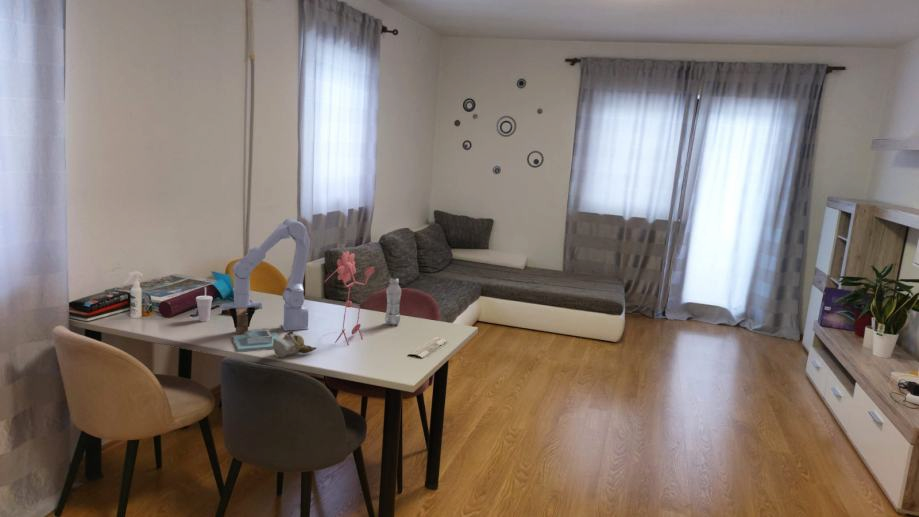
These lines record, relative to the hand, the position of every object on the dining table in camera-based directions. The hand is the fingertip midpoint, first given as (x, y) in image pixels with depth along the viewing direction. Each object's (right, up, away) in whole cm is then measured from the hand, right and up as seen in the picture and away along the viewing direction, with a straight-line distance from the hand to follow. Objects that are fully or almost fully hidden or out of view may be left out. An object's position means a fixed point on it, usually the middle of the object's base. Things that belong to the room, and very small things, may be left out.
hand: (241, 326), depth 244 cm
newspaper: (+73, -9, -3) cm, 73 cm away
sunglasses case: (-10, +3, +30) cm, 32 cm away
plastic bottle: (+56, -2, +25) cm, 61 cm away
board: (+10, -5, -10) cm, 15 cm away
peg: (0, -2, 0) cm, 2 cm away
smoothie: (-20, +1, +13) cm, 23 cm away
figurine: (+39, -5, +1) cm, 39 cm away
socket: (+10, -5, -10) cm, 15 cm away
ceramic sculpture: (+24, -8, -19) cm, 32 cm away
